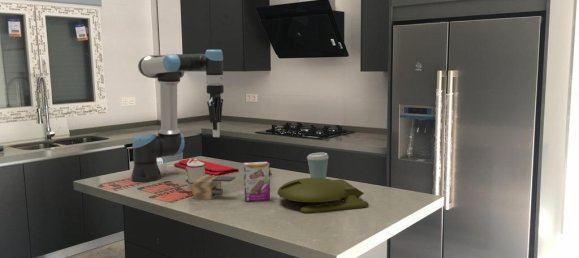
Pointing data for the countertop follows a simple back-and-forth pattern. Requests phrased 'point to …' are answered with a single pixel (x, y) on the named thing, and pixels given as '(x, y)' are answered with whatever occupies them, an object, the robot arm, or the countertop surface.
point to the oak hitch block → (205, 187)
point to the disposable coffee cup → (318, 164)
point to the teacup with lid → (195, 170)
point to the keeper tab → (223, 178)
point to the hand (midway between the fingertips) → (216, 136)
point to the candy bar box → (256, 181)
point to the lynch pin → (214, 191)
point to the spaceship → (322, 194)
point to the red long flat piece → (209, 167)
